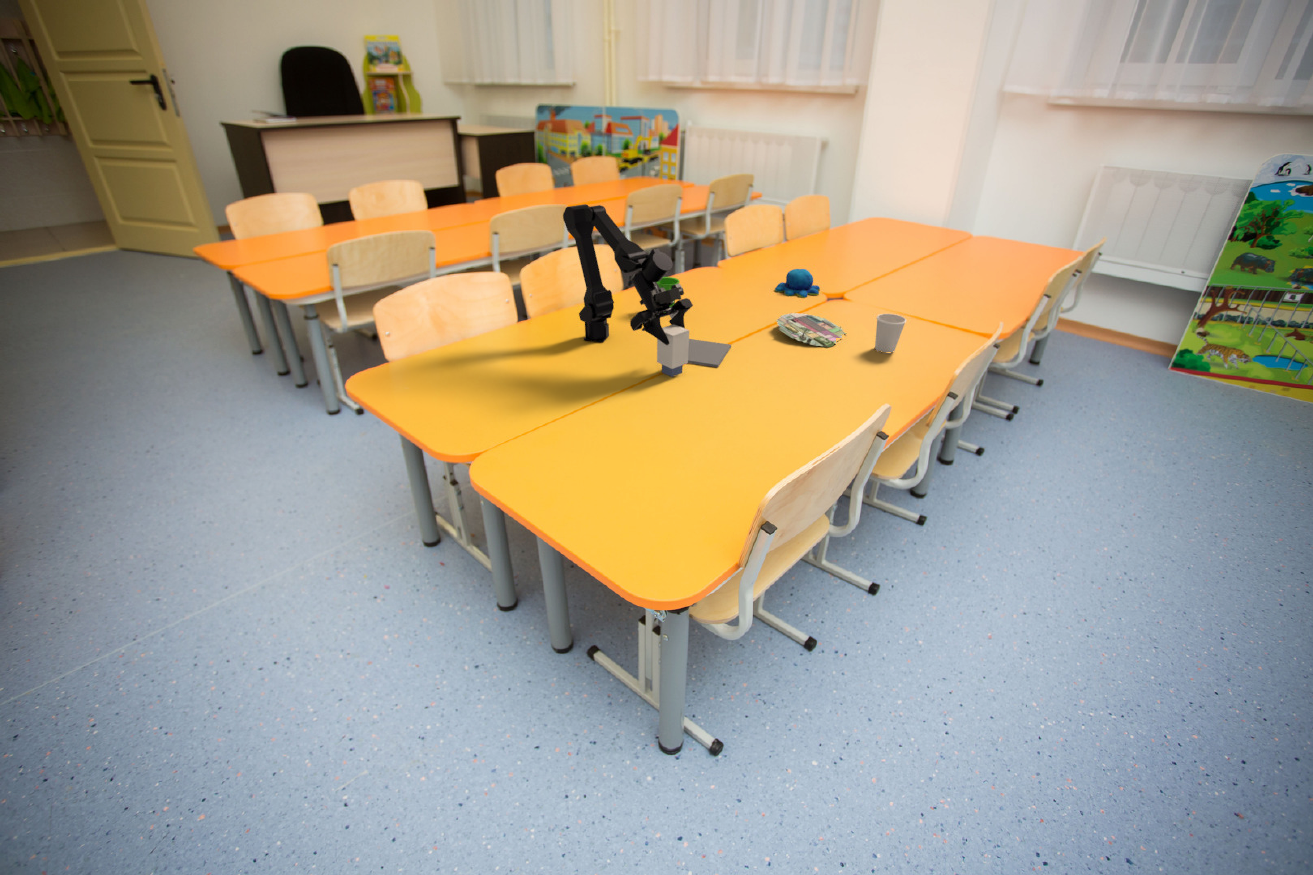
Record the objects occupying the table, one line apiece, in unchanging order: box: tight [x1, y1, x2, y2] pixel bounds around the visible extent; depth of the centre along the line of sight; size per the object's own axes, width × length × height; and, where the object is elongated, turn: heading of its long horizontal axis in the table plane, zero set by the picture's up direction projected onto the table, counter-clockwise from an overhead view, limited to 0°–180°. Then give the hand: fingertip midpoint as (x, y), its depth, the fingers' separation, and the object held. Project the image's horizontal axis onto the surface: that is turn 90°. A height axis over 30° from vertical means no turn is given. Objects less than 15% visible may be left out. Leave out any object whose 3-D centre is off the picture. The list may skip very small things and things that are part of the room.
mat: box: [687, 338, 732, 368], centre depth 180 cm, size 16×16×1 cm
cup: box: [657, 276, 680, 313], centre depth 208 cm, size 9×9×11 cm
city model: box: [776, 312, 847, 348], centre depth 193 cm, size 25×24×6 cm
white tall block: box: [656, 324, 690, 369], centre depth 164 cm, size 6×6×10 cm
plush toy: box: [774, 268, 821, 299], centre depth 232 cm, size 17×17×8 cm
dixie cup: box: [874, 313, 907, 353], centre depth 181 cm, size 8×8×10 cm
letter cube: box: [661, 364, 683, 378], centre depth 167 cm, size 4×4×4 cm
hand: (676, 341), depth 162 cm, fingers closed on white tall block, 6 cm apart
